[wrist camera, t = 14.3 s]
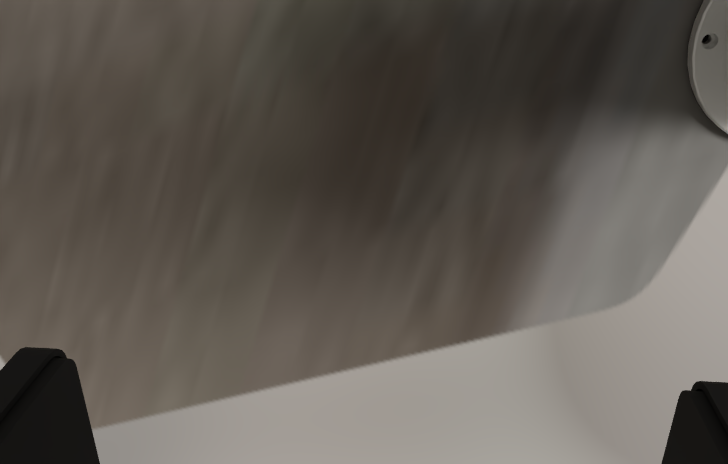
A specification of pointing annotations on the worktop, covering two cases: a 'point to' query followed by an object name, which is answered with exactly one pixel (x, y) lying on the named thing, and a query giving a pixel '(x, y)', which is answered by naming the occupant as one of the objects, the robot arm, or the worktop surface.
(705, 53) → the robot arm
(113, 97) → the worktop surface
